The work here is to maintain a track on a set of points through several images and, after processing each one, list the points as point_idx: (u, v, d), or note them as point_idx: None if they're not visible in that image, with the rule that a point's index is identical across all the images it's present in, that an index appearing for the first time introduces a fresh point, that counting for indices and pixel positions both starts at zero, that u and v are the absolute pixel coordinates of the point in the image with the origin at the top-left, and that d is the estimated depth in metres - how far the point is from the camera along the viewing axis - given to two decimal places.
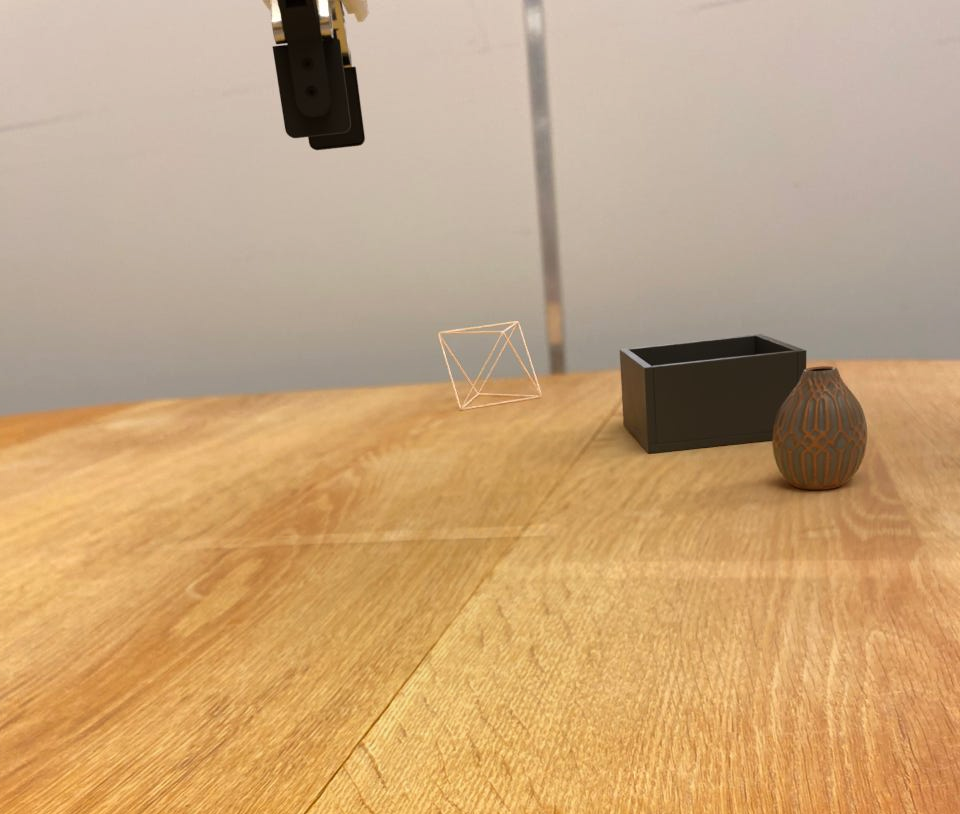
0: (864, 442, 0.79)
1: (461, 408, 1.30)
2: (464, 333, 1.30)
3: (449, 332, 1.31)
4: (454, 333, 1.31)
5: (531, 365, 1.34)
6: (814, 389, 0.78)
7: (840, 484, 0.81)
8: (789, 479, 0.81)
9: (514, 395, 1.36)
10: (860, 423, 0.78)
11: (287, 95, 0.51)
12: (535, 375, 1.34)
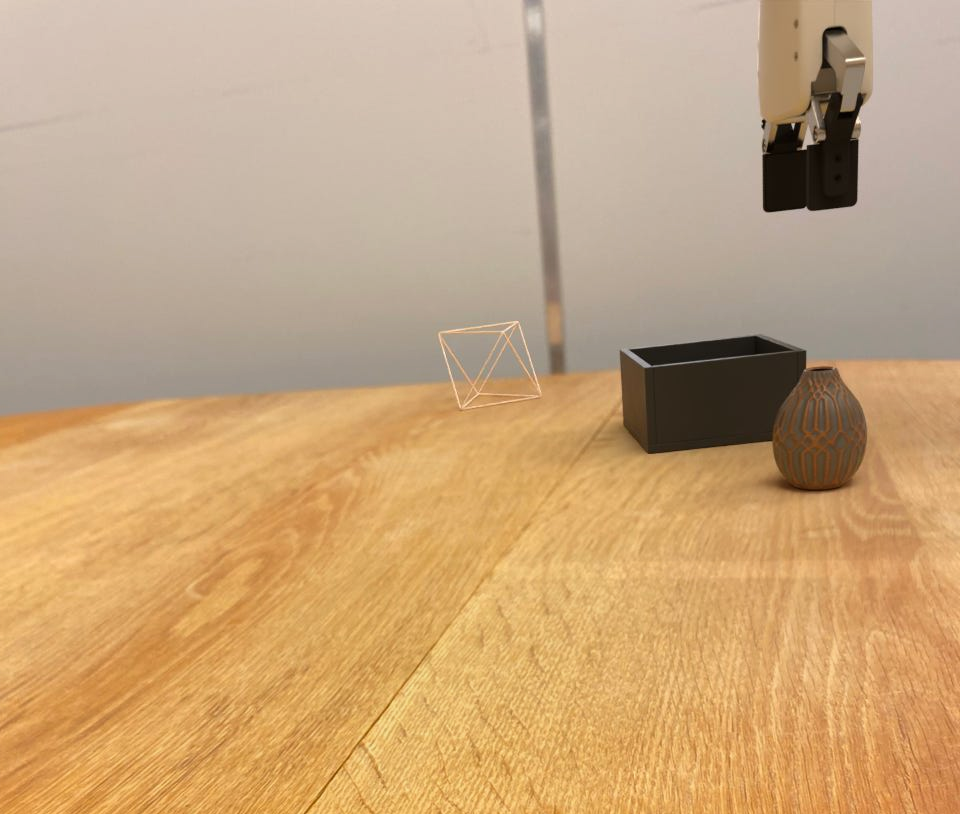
0: (864, 442, 0.79)
1: (461, 408, 1.30)
2: (464, 333, 1.30)
3: (449, 332, 1.31)
4: (454, 333, 1.31)
5: (531, 365, 1.34)
6: (814, 389, 0.78)
7: (840, 484, 0.81)
8: (789, 479, 0.81)
9: (514, 395, 1.36)
10: (860, 423, 0.78)
11: (814, 180, 0.69)
12: (535, 375, 1.34)
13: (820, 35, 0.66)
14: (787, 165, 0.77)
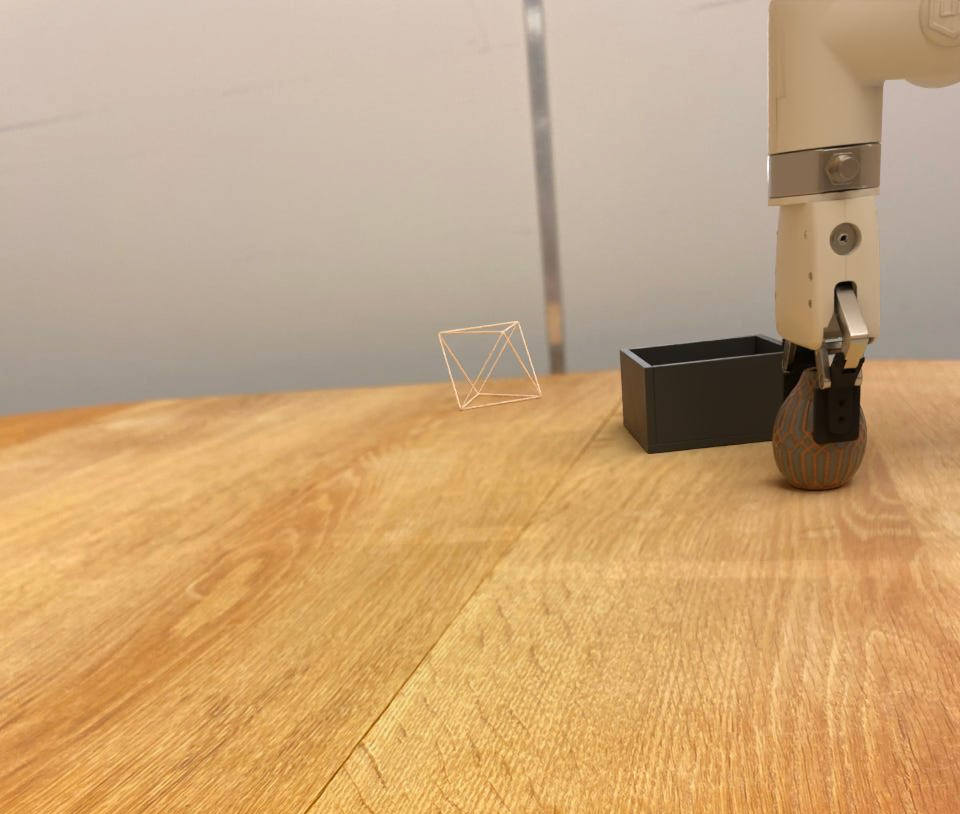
0: (864, 442, 0.79)
1: (461, 408, 1.30)
2: (464, 333, 1.30)
3: (449, 332, 1.31)
4: (454, 333, 1.31)
5: (531, 365, 1.34)
6: None
7: (840, 484, 0.81)
8: (789, 479, 0.81)
9: (514, 395, 1.36)
10: (860, 423, 0.78)
11: (820, 418, 0.77)
12: (535, 375, 1.34)
13: (832, 288, 0.72)
14: None
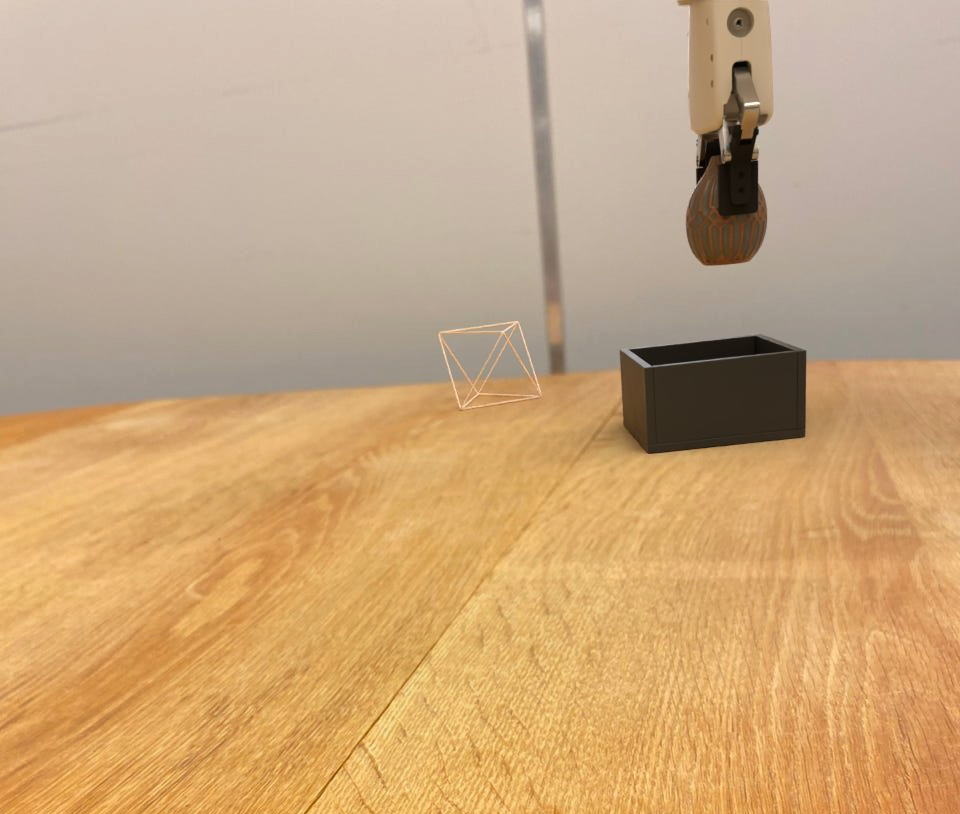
0: (764, 219, 0.90)
1: (461, 408, 1.30)
2: (464, 333, 1.30)
3: (449, 332, 1.31)
4: (454, 333, 1.31)
5: (531, 365, 1.34)
6: None
7: (744, 259, 0.92)
8: (700, 257, 0.92)
9: (514, 395, 1.36)
10: (760, 201, 0.90)
11: (724, 192, 0.88)
12: (535, 375, 1.34)
13: (730, 67, 0.83)
14: None
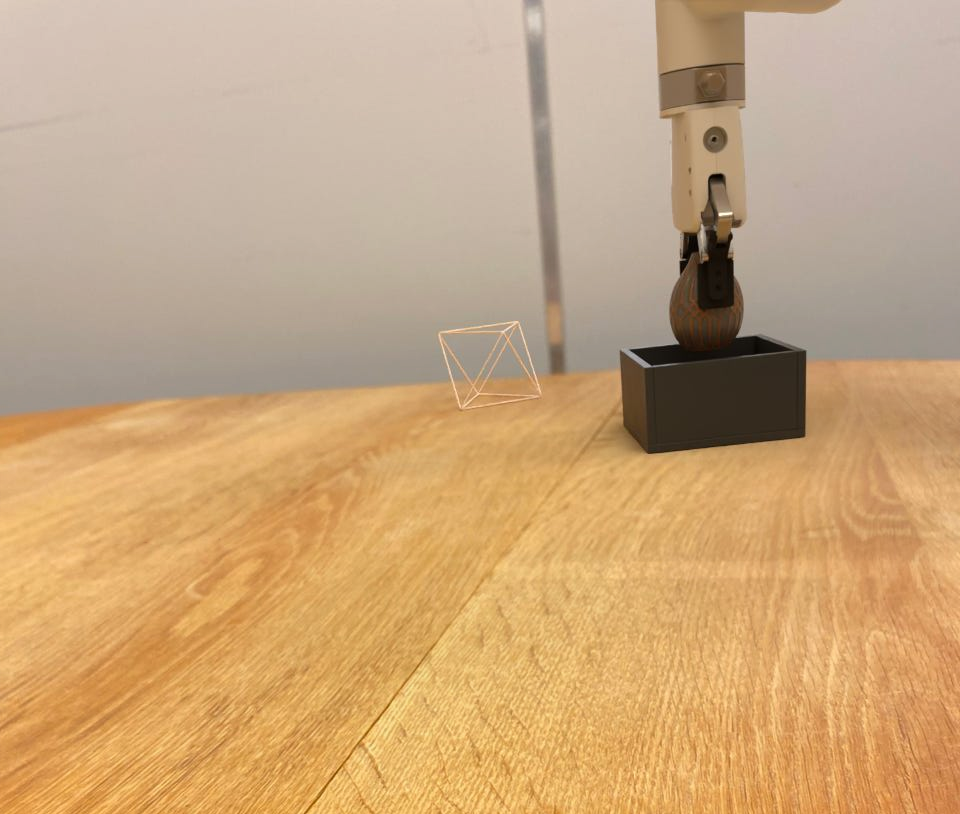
0: (740, 310, 0.99)
1: (461, 408, 1.30)
2: (464, 333, 1.30)
3: (449, 332, 1.31)
4: (454, 333, 1.31)
5: (531, 365, 1.34)
6: None
7: (722, 346, 1.00)
8: (682, 343, 1.01)
9: (514, 395, 1.36)
10: (736, 294, 0.98)
11: (702, 288, 0.96)
12: (535, 375, 1.34)
13: (706, 179, 0.92)
14: None
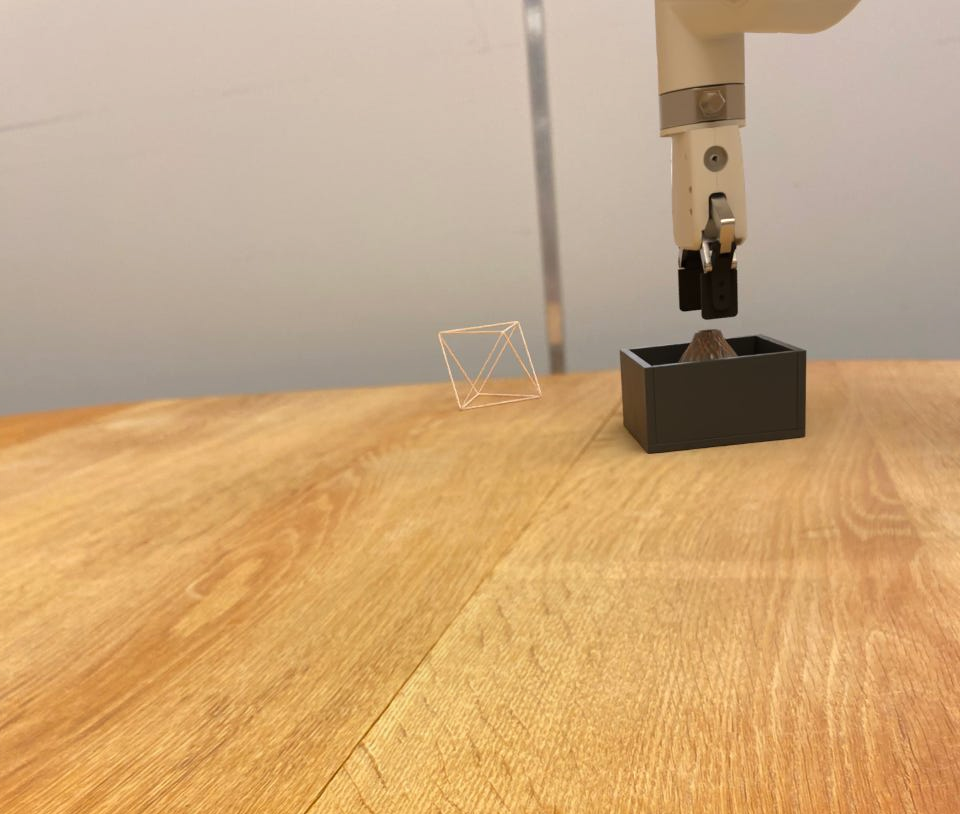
0: None
1: (461, 408, 1.30)
2: (464, 333, 1.30)
3: (449, 332, 1.31)
4: (454, 333, 1.31)
5: (531, 365, 1.34)
6: (702, 346, 1.00)
7: None
8: None
9: (514, 395, 1.36)
10: None
11: (706, 298, 0.95)
12: (535, 375, 1.34)
13: (707, 198, 0.92)
14: (696, 277, 1.04)
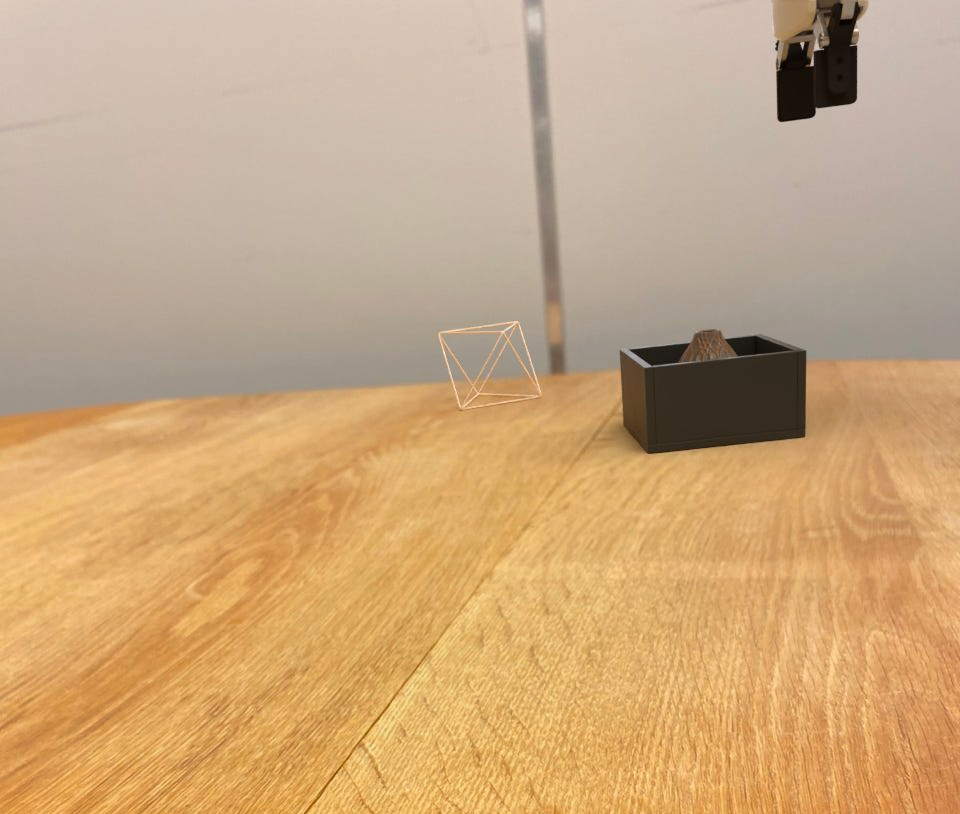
0: None
1: (461, 408, 1.30)
2: (464, 333, 1.30)
3: (449, 332, 1.31)
4: (454, 333, 1.31)
5: (531, 365, 1.34)
6: (702, 346, 1.00)
7: None
8: None
9: (514, 395, 1.36)
10: None
11: (820, 81, 0.82)
12: (535, 375, 1.34)
13: None
14: (797, 79, 0.90)
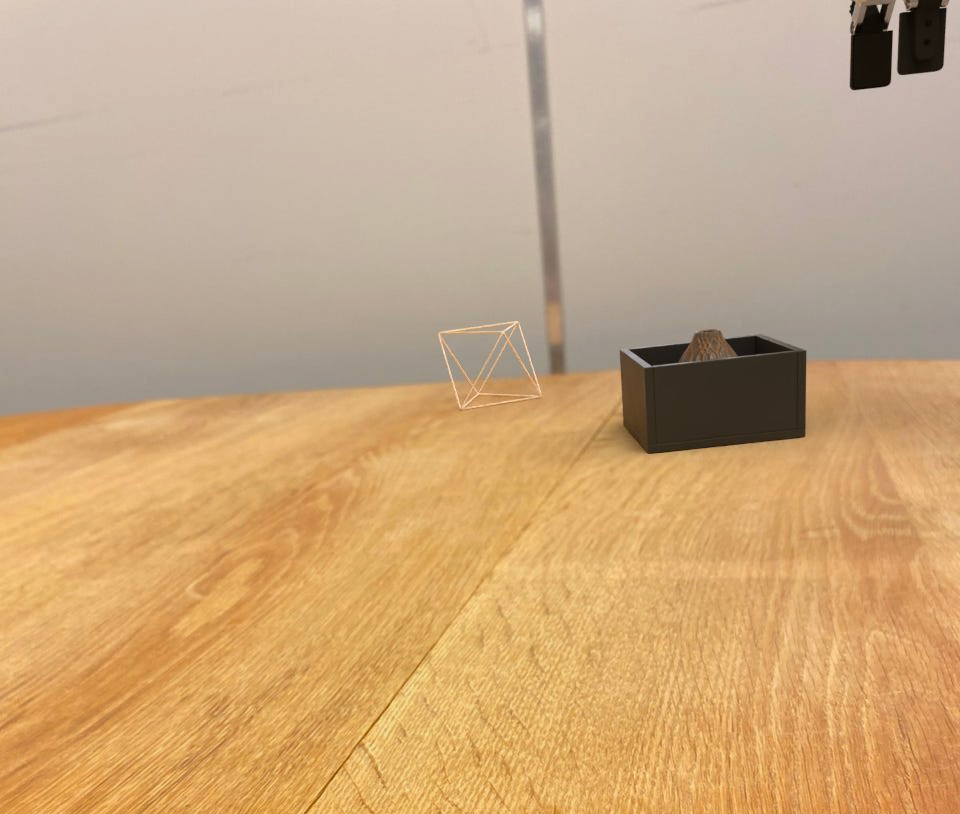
0: None
1: (461, 408, 1.30)
2: (464, 333, 1.30)
3: (449, 332, 1.31)
4: (454, 333, 1.31)
5: (531, 365, 1.34)
6: (702, 346, 1.00)
7: None
8: None
9: (514, 395, 1.36)
10: None
11: (905, 45, 0.77)
12: (535, 375, 1.34)
13: None
14: (873, 45, 0.85)
